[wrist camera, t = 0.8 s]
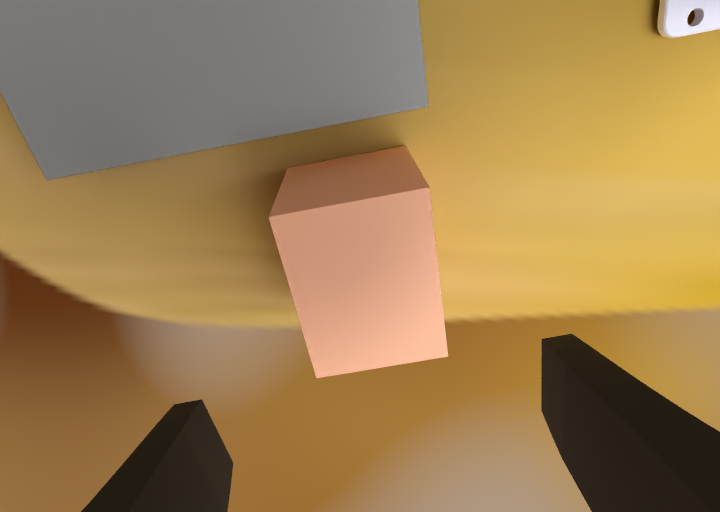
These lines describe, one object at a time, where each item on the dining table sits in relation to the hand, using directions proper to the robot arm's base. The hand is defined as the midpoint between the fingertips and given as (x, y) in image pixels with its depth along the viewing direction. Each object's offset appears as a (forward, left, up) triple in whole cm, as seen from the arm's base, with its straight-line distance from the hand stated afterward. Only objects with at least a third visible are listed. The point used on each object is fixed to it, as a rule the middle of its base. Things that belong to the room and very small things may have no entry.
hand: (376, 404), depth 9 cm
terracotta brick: (0, 0, -10) cm, 10 cm away
